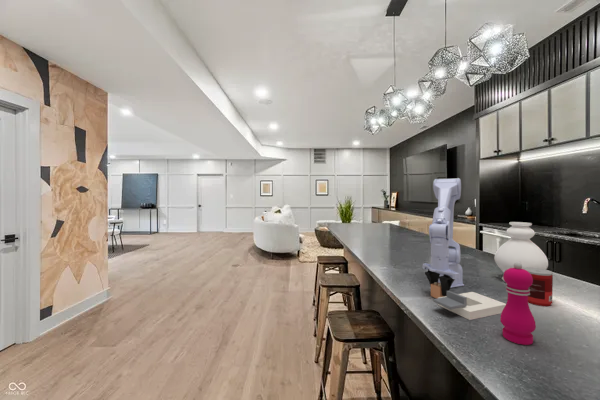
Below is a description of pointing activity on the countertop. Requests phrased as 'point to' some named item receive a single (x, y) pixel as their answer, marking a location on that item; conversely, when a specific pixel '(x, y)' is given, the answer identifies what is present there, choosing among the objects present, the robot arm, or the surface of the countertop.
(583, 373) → the countertop surface
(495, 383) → the countertop surface
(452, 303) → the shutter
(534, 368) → the countertop surface
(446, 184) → the robot arm
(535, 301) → the canned food
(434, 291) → the plug
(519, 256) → the decorative vase
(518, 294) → the pepper mill
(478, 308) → the socket board
